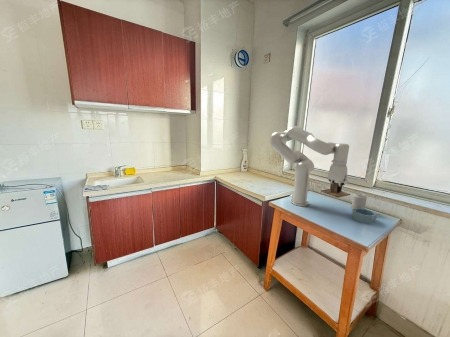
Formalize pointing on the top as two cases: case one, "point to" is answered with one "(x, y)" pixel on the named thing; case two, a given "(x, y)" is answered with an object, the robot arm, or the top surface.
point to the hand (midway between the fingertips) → (335, 190)
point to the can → (359, 201)
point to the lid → (335, 191)
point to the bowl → (364, 215)
